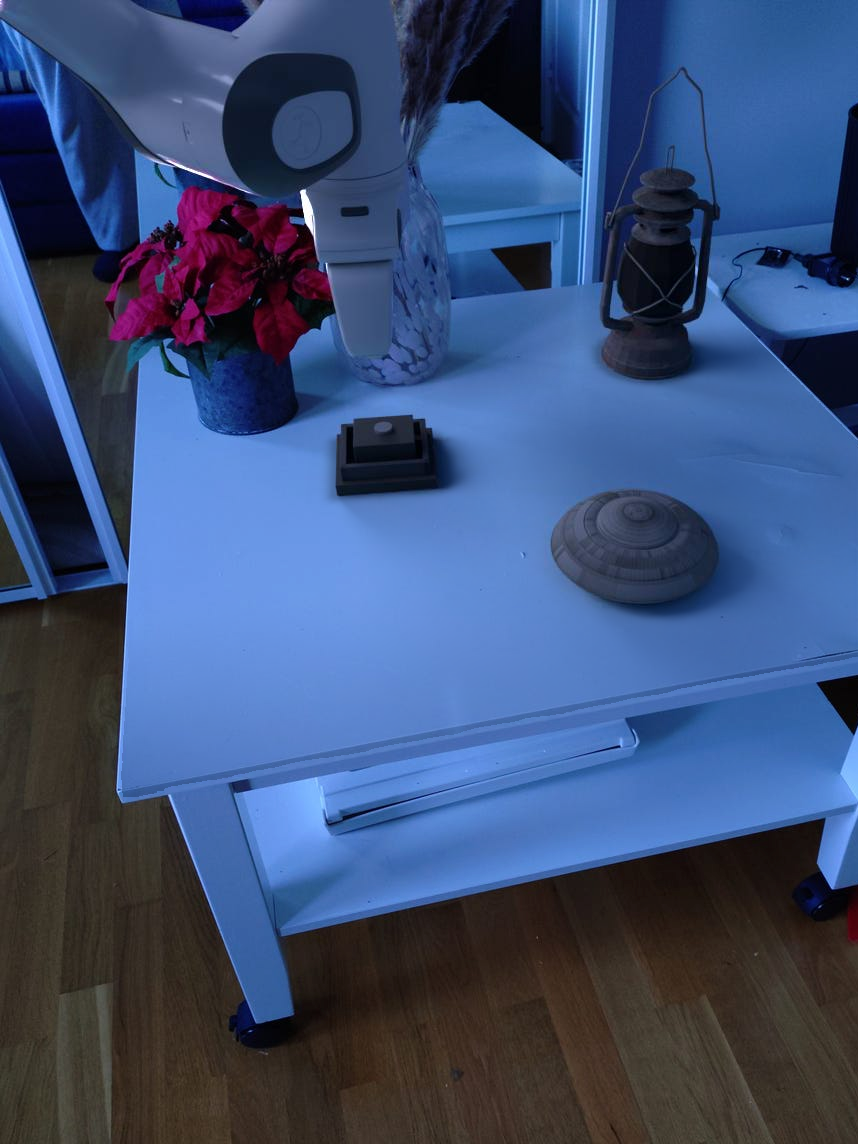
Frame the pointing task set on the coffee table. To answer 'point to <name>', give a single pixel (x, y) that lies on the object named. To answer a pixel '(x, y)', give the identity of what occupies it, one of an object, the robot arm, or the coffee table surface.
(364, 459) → the small block
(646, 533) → the flying saucer
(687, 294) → the lantern
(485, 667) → the coffee table surface
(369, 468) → the black open box
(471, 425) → the coffee table surface
